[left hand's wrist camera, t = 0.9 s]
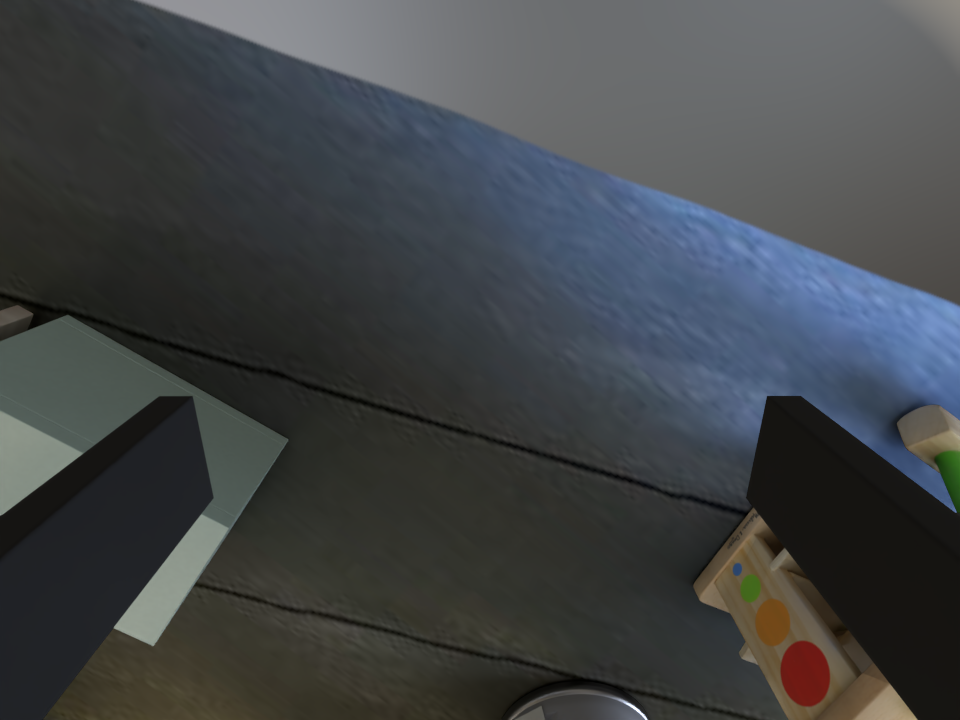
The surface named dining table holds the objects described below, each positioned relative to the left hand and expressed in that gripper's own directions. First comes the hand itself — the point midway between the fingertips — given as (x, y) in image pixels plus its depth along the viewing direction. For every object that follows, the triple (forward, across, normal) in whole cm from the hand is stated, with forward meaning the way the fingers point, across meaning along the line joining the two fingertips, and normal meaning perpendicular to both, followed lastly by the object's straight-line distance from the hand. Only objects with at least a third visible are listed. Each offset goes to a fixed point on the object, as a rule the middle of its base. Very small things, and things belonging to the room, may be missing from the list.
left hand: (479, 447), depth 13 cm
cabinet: (+26, +25, +14) cm, 39 cm away
